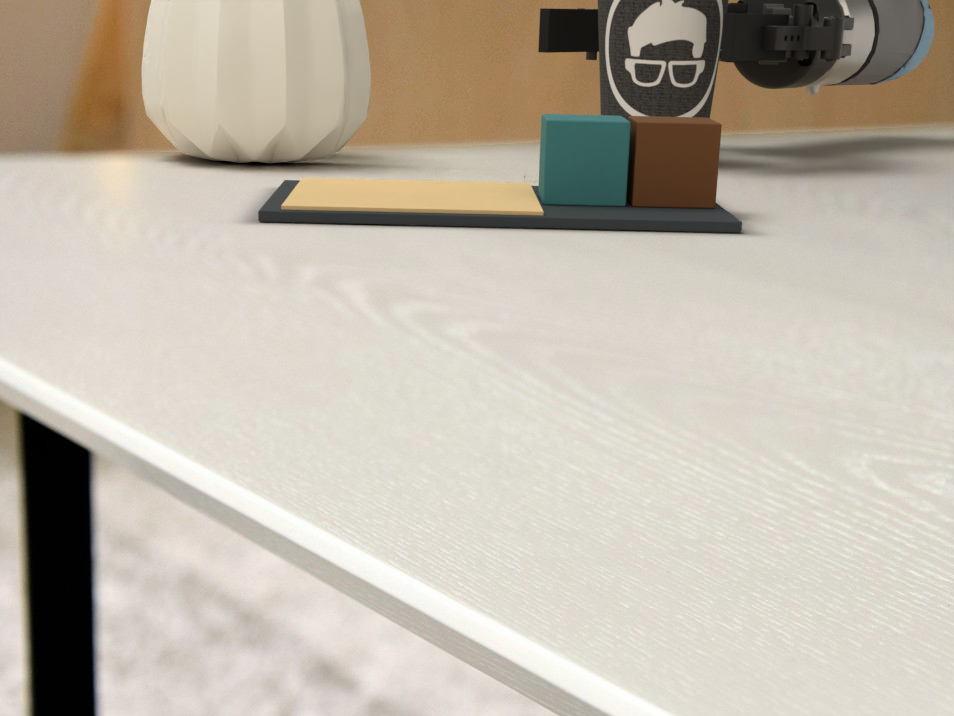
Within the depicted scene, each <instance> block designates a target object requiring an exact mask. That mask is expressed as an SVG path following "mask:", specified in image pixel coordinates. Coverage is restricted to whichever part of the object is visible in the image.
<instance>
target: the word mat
mask: <svg viewBox="0 0 954 716" xmlns="http://www.w3.org/2000/svg"><path fill="white" fill-rule="evenodd" d="M540 120H541V121H540V139H539V140H540V142H539V164H538V165H539V166H538V184H537V185H532V184H531V183H530V182H519V181H517V182H511V181H472V180H471V181H470V180H428V179H427V180H425V179H390V178H389V179H384V178H382V179H379V178H347V177H346V178H344V177H343V178H338V177H301V178H300V179H298V180H297V179H284V180H283V181H282V183H280V185H279V186H278V187H277V189H275V191H274V192H273V193H272V194H271V195H270V196H269V198H268V199H267V200H266V201H265V202H264V204H263V205H262V206H261V207H260V209H259V210H258V212H257V213H258V214H257V217H258V218H257V220H258V222H262V223H269V222H270V223H299V224H300V223H301V224H304V223H305V224H306V223H308V224H347V225H350V224H352V225H387V226H388V225H389V226H391V225H392V226H396V225H399V226H432V227H433V226H434V227H435V226H436V227H475V228H477V227H478V228H515V229H517V228H518V229H519V228H522V229H524V228H525V229H561V230H562V229H565V230H566V229H567V230H602V231H603V230H604V231H605V230H607V231H609V230H611V231H646V232H647V231H648V232H649V231H651V232H654V231H655V232H688V233H689V232H693V233H735V234H737V233H738V234H740V233H742V229H743V222H742V221H741V220H740V219H739V218H737V217H736V216H734V215H733V214H732V213H731V212H729V210H727V209H725V208H724V207H723V206H721V205H720V204H718V202H717V191H718V179H719V166H720V165H719V164H720V152H721V141H722V140H721V139H722V128H723V125H722V123H720V122H718V121H715V120H714V119H711V118H710V119H709V118H702V117H658V116H629V117H628V120H627V119H625V118H624V117H622V116H614V115H601V114H568V113H567V114H564V113H559V114H558V113H542V114H541V118H540Z"/></svg>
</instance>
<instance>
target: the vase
mask: <svg viewBox="0 0 954 716" xmlns="http://www.w3.org/2000/svg"><path fill="white" fill-rule="evenodd" d="M361 4H362V3H361V1H360V0H150V3H149V9H148V12H147V13H148V14H147V20H146V25H145V33H144V38H143V39H144V40H143V46H142V58H141V70H140V71H141V94H142V95H141V96H142V101H143V105H144V109H145V114H146V116H147V117H148V118H149V120H150V121H151V122H152V123H153V125H154V126H155V127H156V128H157V129H158V130H159V132H161V134H162V135H163V136H164V137H165V138H166V139H167V140H168V141H169V143H171V144H172V145H173V147H174V148H176V150H177V151H178V152H180V153H181V154H184V155H186V156H191V157H195V158H199V159H204V160H209V161H214V162H232V163H239V164H247V163H264V164H276V163H277V164H278V163H300V162H306V161H312V160H318V159H324V158H328V157H332V156H333V155H335V154H336V153H338V152H340V150H342V149H343V148H344V147H345V146H346V145H347V144H348V142H349V141H351V139H353V137H354V136H355V134H356V133H357V132H358V131H359V129H360V128H361V127H362V126H363V125H364V124H365V122H366V121H367V120H368V114H369V111H370V110H369V109H370V104H371V97H372V94H371V93H372V72H371V71H372V70H371V59H370V49H369V41H368V35H367V29H366V23H365V18H364V13H363V9H362V5H361Z"/></svg>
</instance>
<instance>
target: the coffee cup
mask: <svg viewBox="0 0 954 716" xmlns="http://www.w3.org/2000/svg"><path fill="white" fill-rule="evenodd" d="M728 3H729V0H597V9H598V30H599V52H598V62H599V64H598V65H599V102H600V103H599V104H600V115H614V116H622V117H624V118H625V119H627V120H628V117H629V116H658V117H702V118H709V119H711V114H712V107H713V100H714V95H715V87H716V82H717V76H718V69H719V63H720V61H719V57H720V51H721V44H722V36H723V23H724V13H727V7H728Z"/></svg>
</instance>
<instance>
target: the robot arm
mask: <svg viewBox="0 0 954 716" xmlns="http://www.w3.org/2000/svg"><path fill="white" fill-rule="evenodd" d="M934 34H935V19H934V14H933V11H932V8H931V6H930V3H929V1H928V0H738V1H737V2H728V7H727V13H724V23H723V36H722V44H721V51H720V57H719V62H722V63H733V65H734V67H735V69H736V70H737V71H738V73H739V74H740V75H741V76H742V77H743V78H744V79H745V80H746V81H748V82H749V83H751V84H753V85H755V86H757V87H760V88H762V89H769V90H780V89H781V90H783V89H784V90H785V89H797V88H802V87H805V94H807V95H809V96H817V95H818V94H819V93H820V87H823V86H825V87H827V86H865V85H870V86H875V85H880V84H882V83H886V82H890V81H894V80H897V79H900V78H903V77H904V76H906V75H908V74H909V73H911V72H912V71H913V70H915V69H916V68H917V67H918V66H919V65H920V64H921V63H922V62H923V61H924V59H925V57H926V56H927V55H928V53H929V51H930V48H931V46H932V43H933V40H934V36H935V35H934ZM537 49H538V53H546V54H547V53H548V54H549V53H550V54H551V53H585V60H586V61H597V60H598V53H599V30H598V8H583V7H582V8H580V7H577V8H543V7H541V8H539V27H538V48H537Z"/></svg>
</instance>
